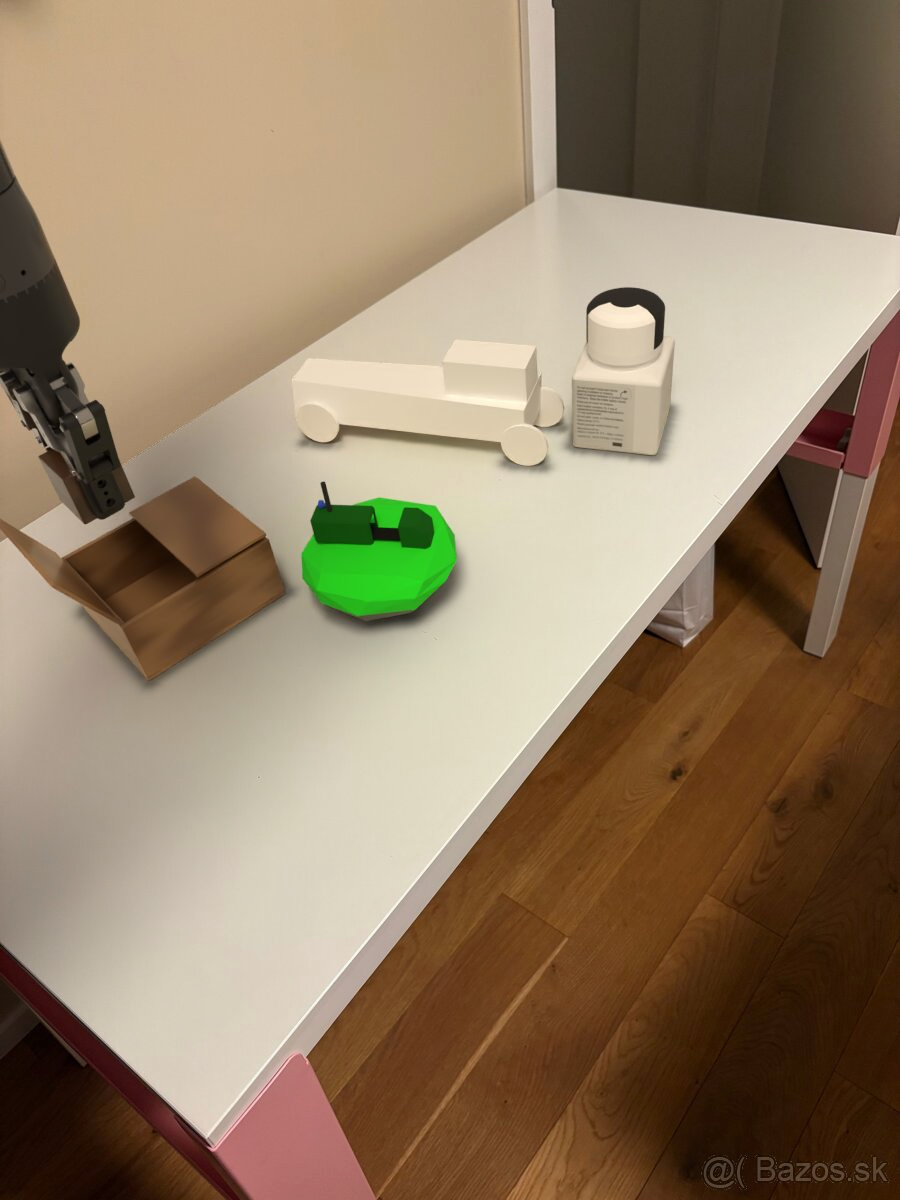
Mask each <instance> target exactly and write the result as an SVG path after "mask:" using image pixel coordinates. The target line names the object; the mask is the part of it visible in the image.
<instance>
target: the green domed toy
mask: <svg viewBox="0 0 900 1200" xmlns="http://www.w3.org/2000/svg"><path fill="white" fill-rule="evenodd" d="M320 488H321V491H322V495H323V496H322V497H323V499H319V500H318V502H317V504H316V506H315V507H314V510H313V513H312V516H311V518H310V521H309V522H310V525H311V529H312V532H313V533H312V536H311V537H310V539H309V541H308V542H307V543H306V545H305V547H304V549H303V550H302V551H301V553H300V555H301V556H300V557H301V576H302V580H303V581H304V583H305V584H306V585H307V587H308V588H309V589H310V591H311V592H312V593H313V594H314V596H315V597H316V599H317V600H318V601H319V602H320V603H321V604H322V605H325V606H327V607H330V608H332V609H334V610H337V611H340V612H342V613H344V614H347V615H349V616H352V617H354V618H357V619H359V620H361V621H364V622H368V621H369V622H370V621H375V620H379V619H385V618H391V617H395V616H396V617H397V616H401V615H407V614H411V613H413V612H414V611H416V610H417V609H418V608H419V607H420V606H422V604H423V603H424V602H425V601H427V599H429V598H430V597H431V596H432V595H433V594H434V593H435V592H436V591H437V590H438V589H439V588H441V587H442V586H443V585H444V584H445V583H446V581H447V580H448V578H449V577H450V574H451V572H452V570H453V569H454V566H455V564H456V563H457V561H458V557H457V546H456V545H457V544H456V536H455V533H454V532H453V530H452V529H451V527H450V525H449V524H448V522H447V521H446V519H445V518H444V516H443V515H442V513H441V512H440V510H439V509H438V507H437V505H433V504H426V503H419V502H413V501H408V500H407V501H406V500H400V499H398V500H397V499H394V498H393V499H392V498H386V497H376V498H372V499H368V500H364V501H360V502H357V503H354V504H331V500H330V499H331V498H330V495H329V490H328V487H327V483H326V481H321V482H320Z"/></svg>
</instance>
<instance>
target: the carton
mask: <svg viewBox="0 0 900 1200" xmlns="http://www.w3.org/2000/svg"><path fill="white" fill-rule="evenodd" d="M128 514H129V516H130V517H131V518H130V519H129V520H127V521H125V522H124V523H121V524H120V525H118V526H116V527H114V528H112V529H110V530H109V531H107V532H105V533H104V534H102V535H100V536H98V537H96V538H94V539H92V540H91V541H89V542H87V543H86V544H84V545H82V546H80V547H79V548H76V549H75V550H73V551H71V552H69V553H67V554H65V555H64V556H62V557H60V558H61V559H62V560H63V561H64V562H65V563H66V564H67V565H68V566H69V567H70V568H71V569H72V570H73V571H74V573H75V574H76V575H77V576H78V577H79V578H80V579H81V580H82V581H83V582H84V583H85V584H86V585H87V586H88V588H89V589H90V590H91V591H92V592H93V593H94V594H95V595H96V596H97V597H98V598H99V599H100V600H101V602H102V603H103V604H104V605H105V606H106V607H107V608H108V609H109V610H110V611H111V612H112V613H113V614H114V615H115V617H116V618H117V619H118V620H119V622H118V623H117V624H116V623H114V622H112V621H111V620H109V619H107V618H105V617H104V616H102V615H100V614H98V613H97V612H95V611H93V610H91V609H89V608H88V607H86V606H84V605H82V607H83V608H84V610H85V613H87V614H88V615H89V617H90V618H91V619H92V620H93V621H94V622H95V623H96V624H97V625H98V627H99V628H100V629H101V630H102V631H103V632H104V633H105V634H106V635H107V637H108V638H109V639H110V640H111V641H112V642H113V643H114V645H116V646H117V648H119V649H120V651H121V652H122V653H123V654H124V655H125V656H126V658H127V659H128V660H129V661H130V662H131V663H132V664H133V666H135V668H137V670H138V671H139V672H140V673H141V674H142V675H143V677H144V678H145V679H146V680H147V681H148V682H150V681H152V680H153V679H154V678H156V677H158V676H159V675H161V674H162V673H164V672H166V671H167V670H168V669H170V668H172V667H173V666H176V665H177V664H178V663H179V662H181V661H183V660H184V659H186V658H187V657H189V656H190V655H192V654H193V653H195V652H196V651H198V650H199V649H202V648H203V647H205V646H206V645H207V644H209V643H211V642H212V641H214V640H216V639H217V638H219V637H220V636H222V635H223V634H225V633H226V632H228V631H229V630H231V629H232V628H234V627H235V626H237V625H239V624H240V623H242V622H243V621H245V620H246V619H248V618H250V617H251V616H252V615H254V614H256V613H258V612H259V611H260V610H262V609H264V608H265V607H267V606H269V605H270V604H271V603H273V602H275V601H276V600H278V599H279V598H281V597H282V596H284V595H285V594H287V592H286V589H285V586H284V583H283V579H282V576H281V573H280V570H279V566H278V564H277V561H276V557H275V554H274V551H273V547H272V545H271V542H270V539H269V538H268V537H267V532H265V531H264V530H263V529H262V528H260V527H259V526H258V525H256V524H255V523H254V522H253V521H252V520H250V519H249V518H248V517H246V516H245V515H244V514H243V513H242V512H240V511H239V510H238V509H237V508H235V507H234V506H233V505H231V504H230V503H229V502H228V501H227V500H225V499H224V498H223V497H222V496H220V495H219V494H218V493H217V492H216V491H214V490H213V489H212V488H210V487H209V486H208V485H207V484H206V483H205V482H203V481H202V480H201V479H199V478H198V477H197V476H196V475H194V476H192V477H190V478H189V479H187V480H185V481H184V482H181V483H180V484H178V485H176V486H174V487H173V488H171V489H169V490H167V491H165V492H163V493H161V494H160V495H158V496H156V497H155V498H153V499H151V500H149V501H147V502H145V503H143V504H142V505H140V506H138V507H136V508H135V509H132V510H131V511H129V512H128Z"/></svg>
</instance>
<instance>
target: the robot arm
mask: <svg viewBox="0 0 900 1200" xmlns="http://www.w3.org/2000/svg"><path fill="white" fill-rule="evenodd" d="M75 305H76V304H75V303H74V301H73V298H72V296H71V294H70V291H69V288H68V287H67V284H66V282H65V279H64V276H63V274H62V272H61V270H60V267H59V265H58V262H57V259H56V258H55V255H54V252H53V251H52V248H51V246H50V243H49V240H48V238H47V236H46V234H45V231H44V229H43V226H42V224H41V222H40V219H39V217H38V215H37V212H36V210H35V208H34V206H33V205H32V203H31V201H30V199H29V198H28V196H27V194H26V193H25V191H24V190H23V188H22V186H21V184H20V182H19V180H18V178H17V176H16V174H15V172H14V169H13V166H12V164H11V161H10V159H9V157H8V154H7V152H6V150H5V147H4V145H3V142H2V140H1V139H0V386H1V388H2V390H3V391H4V393H5V394H6V396H7V398H8V399H9V401H10V403H11V405H12V407H13V408H14V410H15V412H16V415H17V417H19V418H20V423H21V425H22V427H24V428H26V429H27V431H30V432H31V431H32V433H33V435H34V440H35V441H36V443H37V444H38V445H40V447H42V448H44V449H45V451H46V452H47V451H49V450H51V449H54V450H56V451H58V452H61V454H62V456H63V458H64V459H65V461H66V463H67V465H68V467H69V468H70V473H71V475H72V476H73V477H75V478H76V480H77V482H78V484H79V486H80V489H81V491H82V493H83V495H84V497H85V499H86V501H87V503H88V505H89V507H90V509H91V511H92V513H93V514H94V515H95V516H96V517H97V520H102V521H103V520H106V519H107V518H109V517H111V516H113V515H114V514H117V513H118V512H120V511H122V510H123V509H124V508H125V506H126V503H125V501H124V499H123V496H122V494H121V492H120V490H119V487H118V485H117V483H116V481H115V478H114V476H113V474H112V472H111V471H113V470H115V469H117V468H119V467H121V465H122V464H121V465H120V463H121V461H120V458H119V454H118V451H117V448H116V444H115V440H114V438H113V435H112V431H111V427H110V424H109V421H108V416H107V414H106V409H105V406H104V405H103V404H102V403H101V402H100V401H98V400H97V399H94V400H92V401H89V399H88V397H87V395H86V393H85V387H86V386H85V385H86V384H85V382H84V380H83V379H82V377H81V374H80V373H79V370H78V369H77V367H76V366H75V364H73V362H68V363H66V361H65V360H64V359H63V354H64V352H65V350H66V348H67V347H68V345H69V344H70V343H71V342H73V341H74V339H75V338H76V336H77V335H78V333H79V330H80V326H81V319H80V315H79V313H78V310H77V308H76V306H75Z"/></svg>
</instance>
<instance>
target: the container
mask: <svg viewBox="0 0 900 1200" xmlns="http://www.w3.org/2000/svg"><path fill="white" fill-rule="evenodd" d="M585 313H586V315H585V316H586V317H585V319H586V324H585V325H586V326H585V327H586V328H585V329H586V330H585V331H586V332H585V333H586V336H585V337H586V339H585V340H586V342H585V343H584V347H583V348H582V350H581V353H580V356H579V358H578V361H577V363H576V365H575V368H574V370H573V373H572V376H571V402H572V403H571V407H572V408H571V410H572V411H571V413H572V416H571V417H572V419H571V420H572V445H573V446H574V447H575V448H579V449H580V448H581V449H591V450H598V451H599V450H600V451H609V452H619V453H627V454H628V453H629V454H637V455H646V456H647V455H648V456H656V455H657V453H658V452H659V448H660V445H661V441H662V437H663V435H664V430H665V427H666V423H667V419H668V416H669V413H670V410H671V399H672V387H673V372H674V371H673V370H674V358H675V345H676V340H675V338H674V337H673V336H665V322H666V321H665V319H666V305H665V302H664V301H663V299H661V297H660V296H659V295H658V294H657V293H655V292H653V291H652V290H649V289H645V288H640V287H633V286H632V287H631V286H629V287H628V286H627V287H626V286H625V287H616V288H611V289H606V290H605V291H602V292H600V293H598V294H597V295H595V296H594V297H593V298H592V299H591V300H590V301H589V302H588V304H587V306H586V312H585Z"/></svg>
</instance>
